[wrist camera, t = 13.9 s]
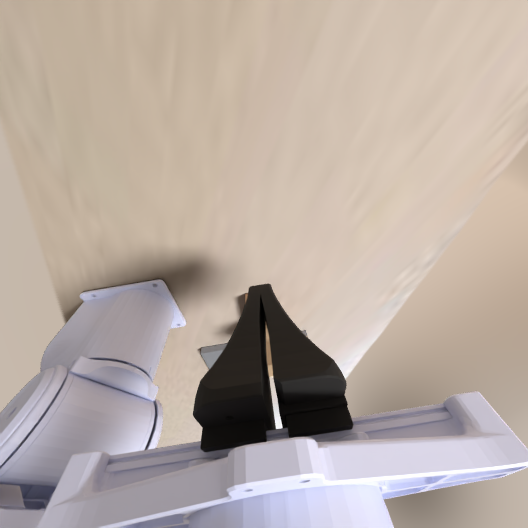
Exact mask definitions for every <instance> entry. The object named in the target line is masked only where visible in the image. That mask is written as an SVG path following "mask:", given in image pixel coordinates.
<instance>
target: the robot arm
mask: <svg viewBox="0 0 528 528" xmlns="http://www.w3.org/2000/svg"><path fill="white" fill-rule="evenodd" d="M154 284H157V285H154ZM80 298H81V299H82V300H83V301H84V302H83V303H82V305H81V306H80V307H79V308H78V309H77V311H76V312H75V313H74V314H73V315H72V317H71V318H70V319H69V320H68V321H67V323H66V324H65V325H64V326H63V328H62V329H61V330H60V331H59V332H58V334H57V335H56V336H55V337H54V339H53V340H52V341H51V342H50V343H49V345H48V346H47V348H46V350H45V352H44V354H43V357H42V362H41V372H40V373H39V374H38V375H36V376H35V377H34V378H33V379H32V380H31V381H29V382H28V383H27V384H26V385H25V387H23V389H21V391H20V392H19V393H18V394H17V395H16V396H15V397H14V398H13V399H12V400H11V401H10V402H9V404H8V405H7V406H6V407H5V408H4V409H3V411H2V412H1V413H0V528H394V526H393V524H392V521H391V518H390V516H389V513H388V510H387V508H386V505H385V502H384V499H388V498H393V497H398V496H403V495H408V494H413V493H419V492H423V491H429V490H434V489H439V488H444V487H449V486H454V485H460V484H466V483H471V482H477V481H483V480H489V479H495V478H501V477H504V476H507V475H510V474H512V473H514V472H517V471H520V470H523V469H525V468H528V449H527V448H526V446H525V445H524V444H523V443H522V442H521V441H520V439H519V438H518V437H517V436H516V435H515V434H514V432H513V431H512V430H511V429H510V428H509V427H508V425H507V424H506V423H505V422H504V421H503V420H502V418H500V416H499V415H498V414H497V413H496V411H495V410H494V409H493V408H492V407H491V405H490V404H489V403H488V402H487V401H486V400H485V399H484V397H483V396H482V395H481V394H480V393H479V392H477V391H474V392H467V393H461V394H455V395H451V396H449V397H447V398H446V399H445V400H444V403H441V404H435V405H428V406H422V407H416V408H409V409H403V410H397V411H390V412H384V413H378V414H371V415H365V416H358V417H352V418H351V416H350V413H349V410H348V408H347V405H348V404H347V401H346V398H345V396H344V394H345V390H346V380H345V378H344V376H343V374H342V372H341V370H340V369H339V367H338V366H337V364H336V363H335V361H334V360H333V359H332V358H331V357H329V356H328V355H327V354H325V353H324V352H323V351H322V350H321V349H319V348H318V347H317V346H316V345H315V344H314V343H313V342H312V341H311V340H310V339H308V338H307V337H306V336H305V335H304V334H303V333H302V332H301V330H300V329H299V328H298V327H297V326H296V325H295V324H294V323H293V321H292V320H291V319H290V318H289V316H288V315H287V314H286V312H285V311H284V309H283V308H282V306H281V305H280V303H279V302H278V300H277V298H276V296H275V294H274V292H273V290H272V287H271V285H270V284H263V285H257V286H251V287H250V288H249V292H248V296H247V300H246V303H245V306H244V309H243V312H242V315H241V317H240V320H239V322H238V324H237V327H236V329H235V331H234V333H233V335H232V336H231V338H230V340H229V342H228V343H227V345H226V347H225V348H224V350H223V352H222V353H221V354H220V356H219V357H218V359H217V360H216V362H215V363H214V364H213V366H212V367H211V368H210V370H209V371H208V372H207V373H206V375H205V376H204V377H203V378H202V379H201V381H200V384H199V387H198V390H197V394H196V398H195V404H194V411H193V416H194V418H195V419H196V420H197V421H198V423H199V424H200V425H201V426H202V427H203V429H202V438H201V441H199V442H193V443H186V444H180V445H174V446H167V447H161V448H156V447H157V444H158V442H159V438H160V435H161V431H162V425H163V408H162V405H161V403H160V402H159V401H158V400H157V399H155V398H156V395H157V391H158V388H159V387H158V386H156V385H154V384H153V380H154V377H155V374H156V371H157V368H158V365H159V362H160V359H161V356H162V352H163V349H164V346H165V343H166V340H167V337H168V334H169V331H170V329H171V328H177V327H183V326H185V325H186V320H185V318H184V317H183V315H182V313H181V311H180V309H179V308H178V306H177V304H176V302H175V300H174V298H173V297H172V295H171V293H170V291H169V289H168V287H167V286H166V284H165V282H164V281H163V280H153V281H147V282H141V283H135V284H129V285H123V286H117V287H111V288H105V289H99V290H93V291H87V292H82V293H81V294H80ZM266 325H267V329H268V334H269V341H270V350H271V359H272V369H273V378H274V383H275V388H276V393H277V398H278V405H279V412H280V417H281V421H282V426H283V428H282V429H276V427H275V419H274V412H273V404H272V396H271V388H270V380H269V372H268V364H267V353H266Z"/></svg>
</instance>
